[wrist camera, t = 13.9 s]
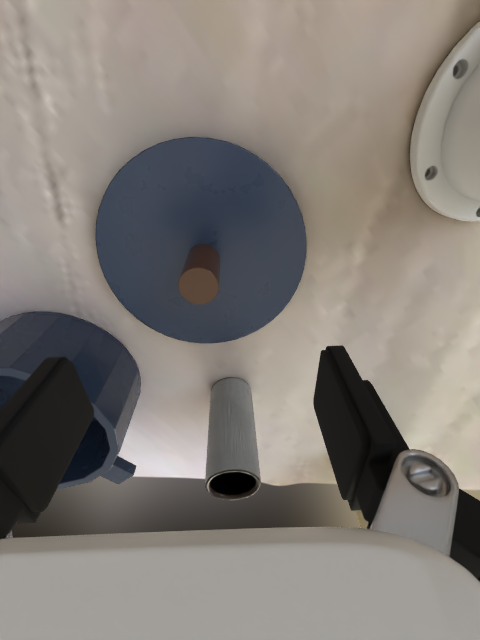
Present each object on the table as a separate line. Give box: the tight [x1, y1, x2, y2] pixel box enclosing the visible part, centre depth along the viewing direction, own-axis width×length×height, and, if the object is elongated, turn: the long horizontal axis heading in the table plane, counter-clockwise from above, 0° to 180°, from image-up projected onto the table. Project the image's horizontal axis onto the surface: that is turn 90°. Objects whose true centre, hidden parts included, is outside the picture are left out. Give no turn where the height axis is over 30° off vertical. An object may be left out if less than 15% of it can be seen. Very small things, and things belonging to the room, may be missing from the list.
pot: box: [0, 312, 141, 488], centre depth 26 cm, size 15×21×8 cm
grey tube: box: [205, 378, 261, 500], centre depth 27 cm, size 4×4×10 cm
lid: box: [96, 137, 306, 343], centre depth 20 cm, size 16×16×6 cm
